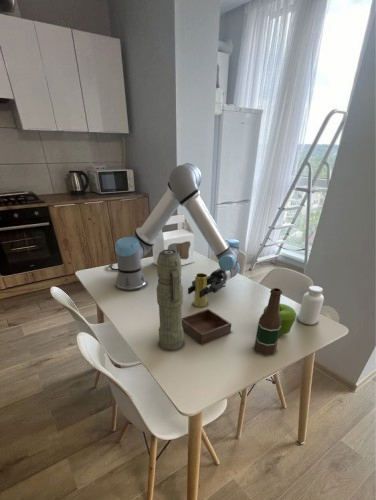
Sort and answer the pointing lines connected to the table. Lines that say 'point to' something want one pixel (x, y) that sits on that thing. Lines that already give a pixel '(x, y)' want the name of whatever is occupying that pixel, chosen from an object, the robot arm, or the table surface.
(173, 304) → the thermos
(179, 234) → the gable box
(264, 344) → the beer bottle
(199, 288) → the vase
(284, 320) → the apple
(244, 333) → the table surface
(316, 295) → the pill bottle
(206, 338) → the tray
